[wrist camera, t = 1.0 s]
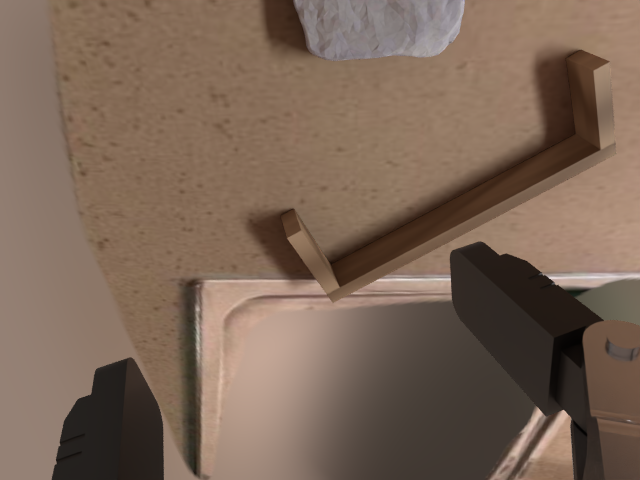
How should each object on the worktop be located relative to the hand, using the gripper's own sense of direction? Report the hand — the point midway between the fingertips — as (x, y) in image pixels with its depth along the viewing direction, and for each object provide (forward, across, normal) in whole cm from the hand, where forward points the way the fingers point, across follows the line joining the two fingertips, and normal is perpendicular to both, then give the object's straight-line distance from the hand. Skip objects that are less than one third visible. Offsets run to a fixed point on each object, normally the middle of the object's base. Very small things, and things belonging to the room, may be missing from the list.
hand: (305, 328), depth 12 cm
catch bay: (+23, -16, +10) cm, 30 cm away
